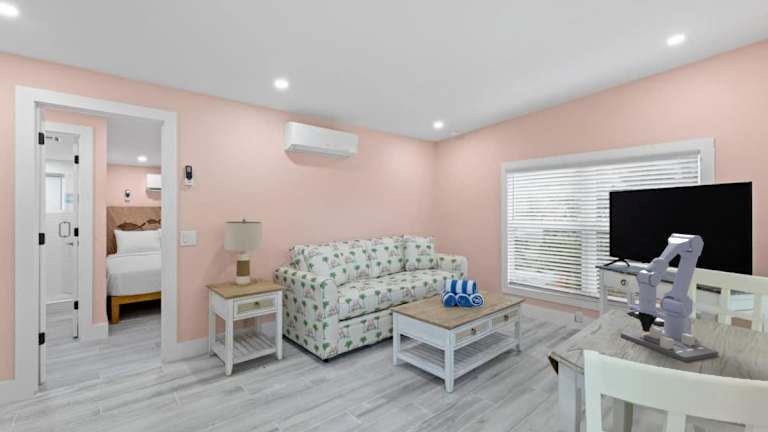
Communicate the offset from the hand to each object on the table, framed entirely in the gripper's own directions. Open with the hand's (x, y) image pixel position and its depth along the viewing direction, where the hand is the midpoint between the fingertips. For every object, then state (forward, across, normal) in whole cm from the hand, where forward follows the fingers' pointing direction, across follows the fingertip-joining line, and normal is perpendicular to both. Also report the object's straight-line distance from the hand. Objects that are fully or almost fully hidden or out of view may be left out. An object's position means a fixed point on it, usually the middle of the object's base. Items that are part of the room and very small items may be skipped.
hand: (646, 331), depth 143 cm
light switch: (+4, -16, +28) cm, 33 cm away
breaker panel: (+3, +8, 0) cm, 8 cm away
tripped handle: (+1, +4, 0) cm, 4 cm away
